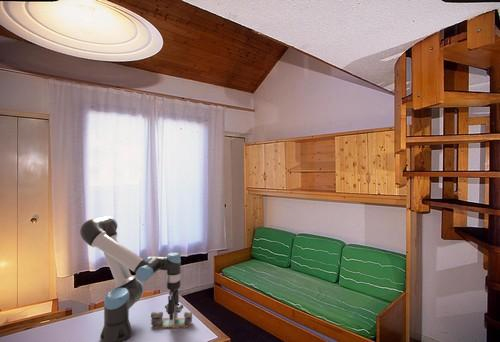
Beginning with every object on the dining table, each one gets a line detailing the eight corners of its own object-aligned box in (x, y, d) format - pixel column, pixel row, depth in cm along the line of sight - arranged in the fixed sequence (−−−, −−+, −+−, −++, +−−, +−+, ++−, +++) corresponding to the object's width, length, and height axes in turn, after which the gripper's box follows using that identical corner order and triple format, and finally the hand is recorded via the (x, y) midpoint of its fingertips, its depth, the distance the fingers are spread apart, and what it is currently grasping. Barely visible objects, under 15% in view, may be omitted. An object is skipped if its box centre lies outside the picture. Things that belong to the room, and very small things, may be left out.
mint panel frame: (149, 328, 149) (149, 315, 149) (154, 319, 158) (154, 307, 158) (190, 328, 149) (190, 315, 149) (193, 319, 158) (193, 307, 158)
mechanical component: (182, 324, 152) (182, 306, 152) (164, 323, 152) (164, 306, 152) (183, 321, 154) (183, 303, 155) (166, 321, 155) (166, 303, 155)
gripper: (175, 287, 144) (175, 330, 143) (184, 274, 163) (184, 312, 163) (161, 287, 144) (161, 330, 143) (171, 274, 163) (171, 312, 163)
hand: (173, 320), depth 153 cm, fingers open, 7 cm apart
